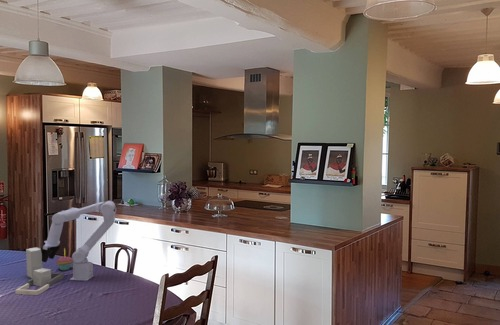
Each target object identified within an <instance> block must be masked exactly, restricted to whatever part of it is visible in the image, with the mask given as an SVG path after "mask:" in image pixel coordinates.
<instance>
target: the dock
mask: <svg viewBox="0 0 500 325" xmlns="http://www.w3.org/2000/svg"><path fill="white" fill-rule="evenodd" d="M62 279H63V280H64V272H62V273H61V272H51V280H49V281H48V282H47V284H49V288H50V287H51V286H53V285H54V284H56V283H58V282H60V281H61V280H62ZM27 283H29V287H31V286H33V278H32V279H31V278H30V279H29V280H27V282H26V284H27Z"/></svg>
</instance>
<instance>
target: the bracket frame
mask: <svg viewBox="0 0 500 325" xmlns="http://www.w3.org/2000/svg"><path fill="white" fill-rule="evenodd" d="M29 288H30V286H29V283H27V282H26V284H23V285H22V286H20V287H18V288H17V289H15V290H14V292H15V293H14V295H21V294H22V296H23V295H24V296H27V295H28V296H40V295H41V294H42V293H44V292H46V291H47V290H49V289H50V287H49V284H46V285H45V286H42V287H40V288H38V289H29Z"/></svg>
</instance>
